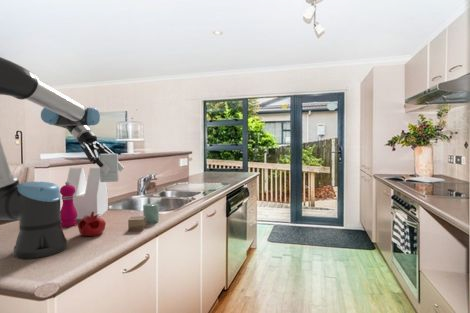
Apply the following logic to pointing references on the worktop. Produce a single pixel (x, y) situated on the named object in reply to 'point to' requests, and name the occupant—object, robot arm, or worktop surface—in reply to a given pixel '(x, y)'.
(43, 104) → the robot arm
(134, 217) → the walnut block
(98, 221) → the pomegranate
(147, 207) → the green rounded block
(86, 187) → the milk carton
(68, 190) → the pepper mill
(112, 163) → the supplement box
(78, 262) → the worktop surface
